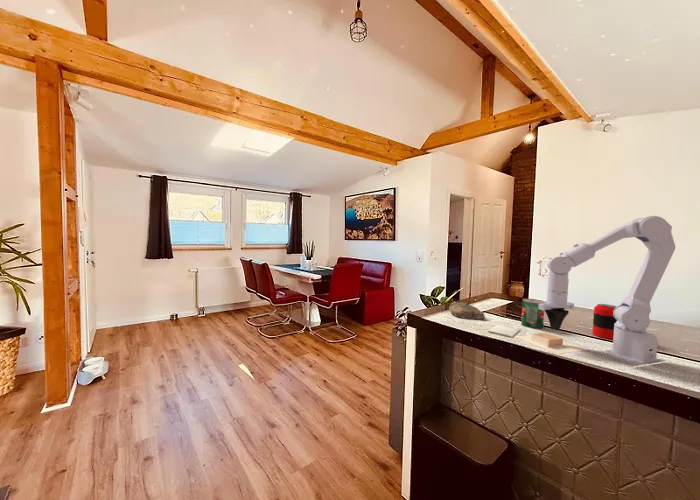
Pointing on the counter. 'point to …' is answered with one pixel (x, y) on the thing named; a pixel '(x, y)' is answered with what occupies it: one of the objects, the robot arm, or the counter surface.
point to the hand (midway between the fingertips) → (554, 329)
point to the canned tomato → (532, 314)
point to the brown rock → (465, 311)
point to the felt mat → (556, 349)
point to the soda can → (604, 321)
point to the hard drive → (504, 331)
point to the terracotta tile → (547, 339)
